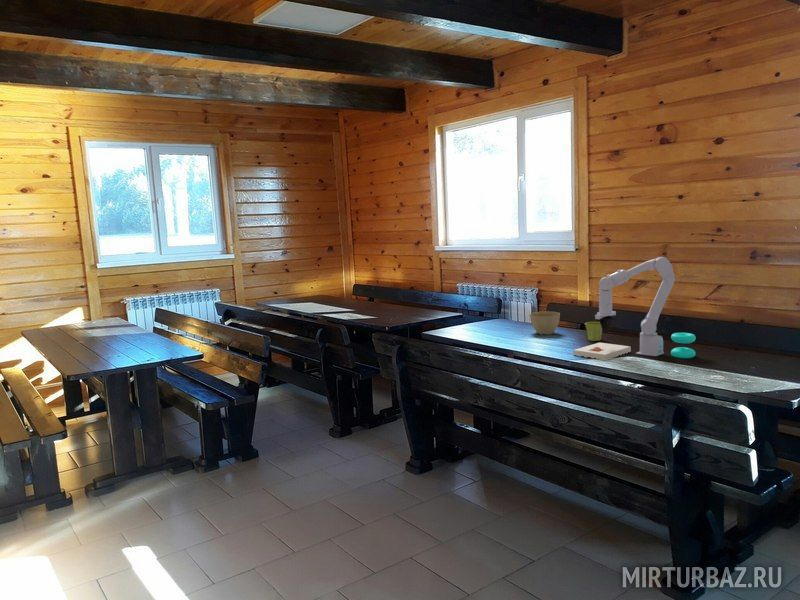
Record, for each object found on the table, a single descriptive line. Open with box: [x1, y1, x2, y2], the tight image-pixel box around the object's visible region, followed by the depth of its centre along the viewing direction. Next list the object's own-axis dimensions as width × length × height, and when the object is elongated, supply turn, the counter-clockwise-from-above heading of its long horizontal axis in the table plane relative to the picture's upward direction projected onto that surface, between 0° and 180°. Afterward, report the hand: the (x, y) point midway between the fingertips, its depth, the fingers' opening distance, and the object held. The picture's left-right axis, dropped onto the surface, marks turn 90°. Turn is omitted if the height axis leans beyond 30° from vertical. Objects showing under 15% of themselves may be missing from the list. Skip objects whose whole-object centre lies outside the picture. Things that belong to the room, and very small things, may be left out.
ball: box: [593, 347, 602, 352], centre depth 286 cm, size 4×4×4 cm
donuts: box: [670, 332, 697, 359], centre depth 278 cm, size 10×10×10 cm
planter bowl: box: [529, 311, 561, 335], centre depth 345 cm, size 16×16×11 cm
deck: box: [573, 342, 632, 361], centre depth 290 cm, size 16×22×2 cm
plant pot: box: [584, 321, 603, 342], centre depth 322 cm, size 9×9×9 cm
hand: (605, 332), depth 291 cm, fingers closed
